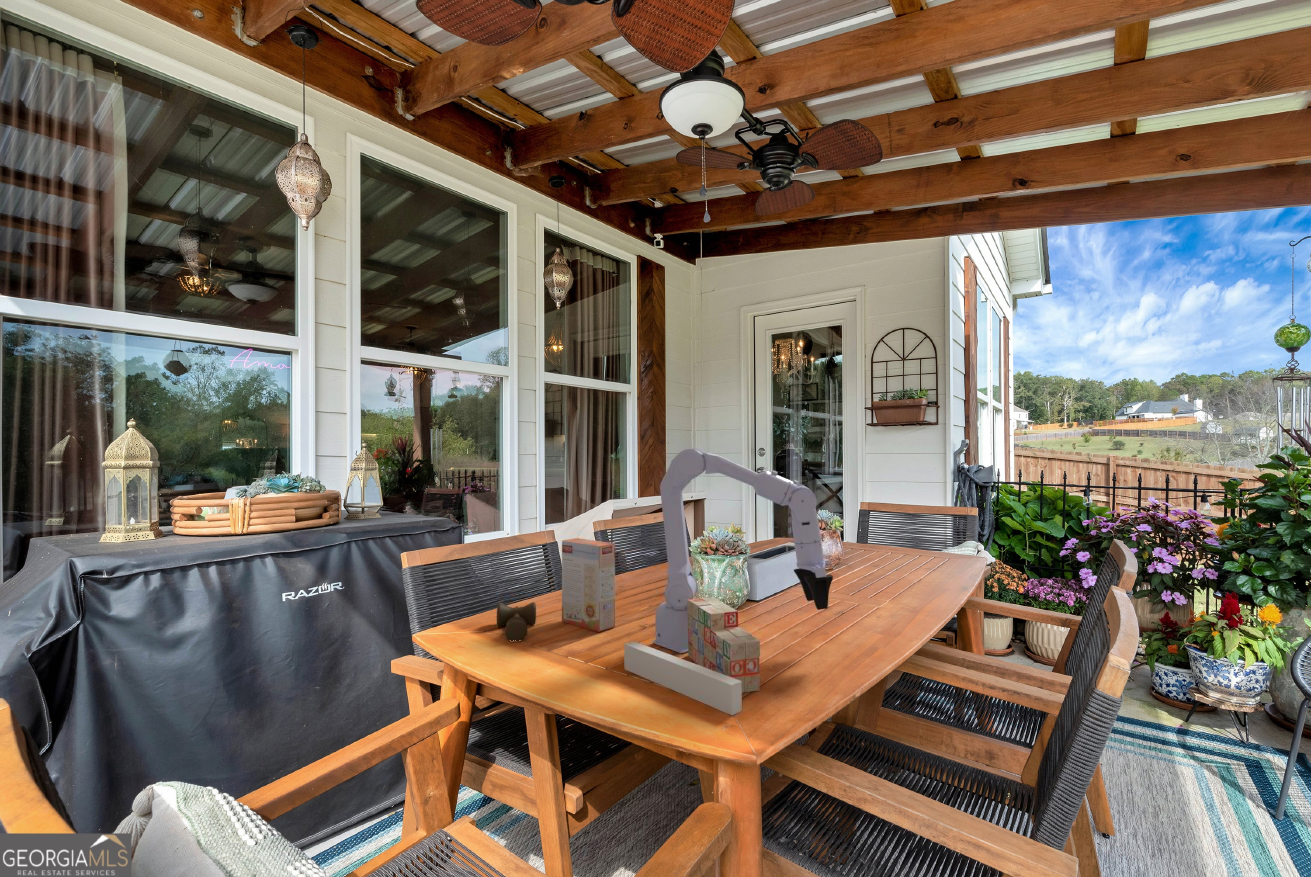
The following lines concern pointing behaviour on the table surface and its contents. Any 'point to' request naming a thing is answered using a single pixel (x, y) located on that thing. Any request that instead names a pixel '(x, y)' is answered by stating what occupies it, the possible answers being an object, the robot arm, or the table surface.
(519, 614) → the kendama
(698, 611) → the stack of blocks
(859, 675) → the table surface
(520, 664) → the table surface
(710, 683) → the grey board
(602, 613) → the cracker box
